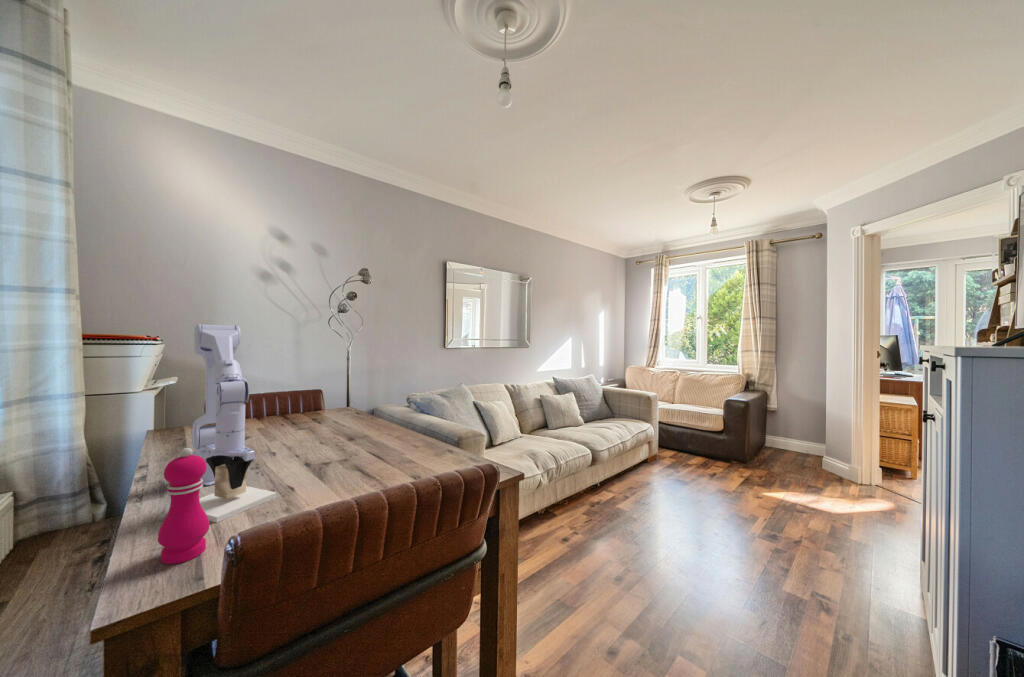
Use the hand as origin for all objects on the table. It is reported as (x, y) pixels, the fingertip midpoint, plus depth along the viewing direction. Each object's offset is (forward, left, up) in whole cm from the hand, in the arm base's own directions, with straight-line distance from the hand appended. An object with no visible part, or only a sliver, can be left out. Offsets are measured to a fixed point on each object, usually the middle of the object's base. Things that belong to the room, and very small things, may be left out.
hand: (229, 486), depth 89 cm
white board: (0, 0, -4) cm, 4 cm away
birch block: (0, 0, -2) cm, 2 cm away
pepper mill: (+14, -17, -5) cm, 22 cm away
